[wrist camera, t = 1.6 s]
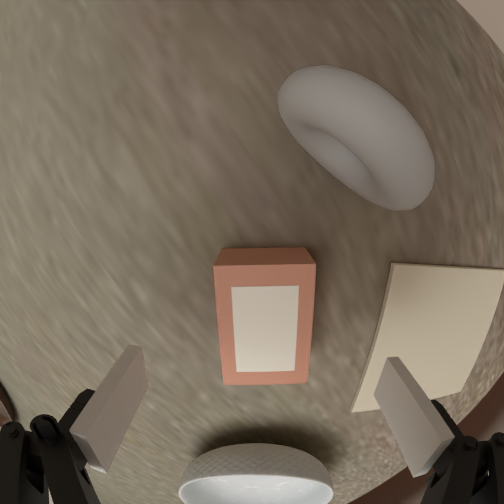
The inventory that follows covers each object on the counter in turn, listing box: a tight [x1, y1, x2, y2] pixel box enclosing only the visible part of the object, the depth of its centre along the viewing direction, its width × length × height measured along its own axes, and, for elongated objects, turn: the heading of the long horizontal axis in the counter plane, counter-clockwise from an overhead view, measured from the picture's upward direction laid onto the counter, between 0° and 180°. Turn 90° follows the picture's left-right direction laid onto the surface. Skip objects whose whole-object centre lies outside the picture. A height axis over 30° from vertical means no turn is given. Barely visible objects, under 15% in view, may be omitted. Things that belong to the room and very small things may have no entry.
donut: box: [277, 65, 435, 210], centre depth 14 cm, size 10×4×10 cm, turn 51°
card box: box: [213, 247, 316, 385], centre depth 19 cm, size 9×6×5 cm, turn 1°
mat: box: [350, 262, 504, 412], centre depth 22 cm, size 16×16×1 cm
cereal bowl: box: [178, 443, 334, 504], centre depth 23 cm, size 17×17×7 cm
